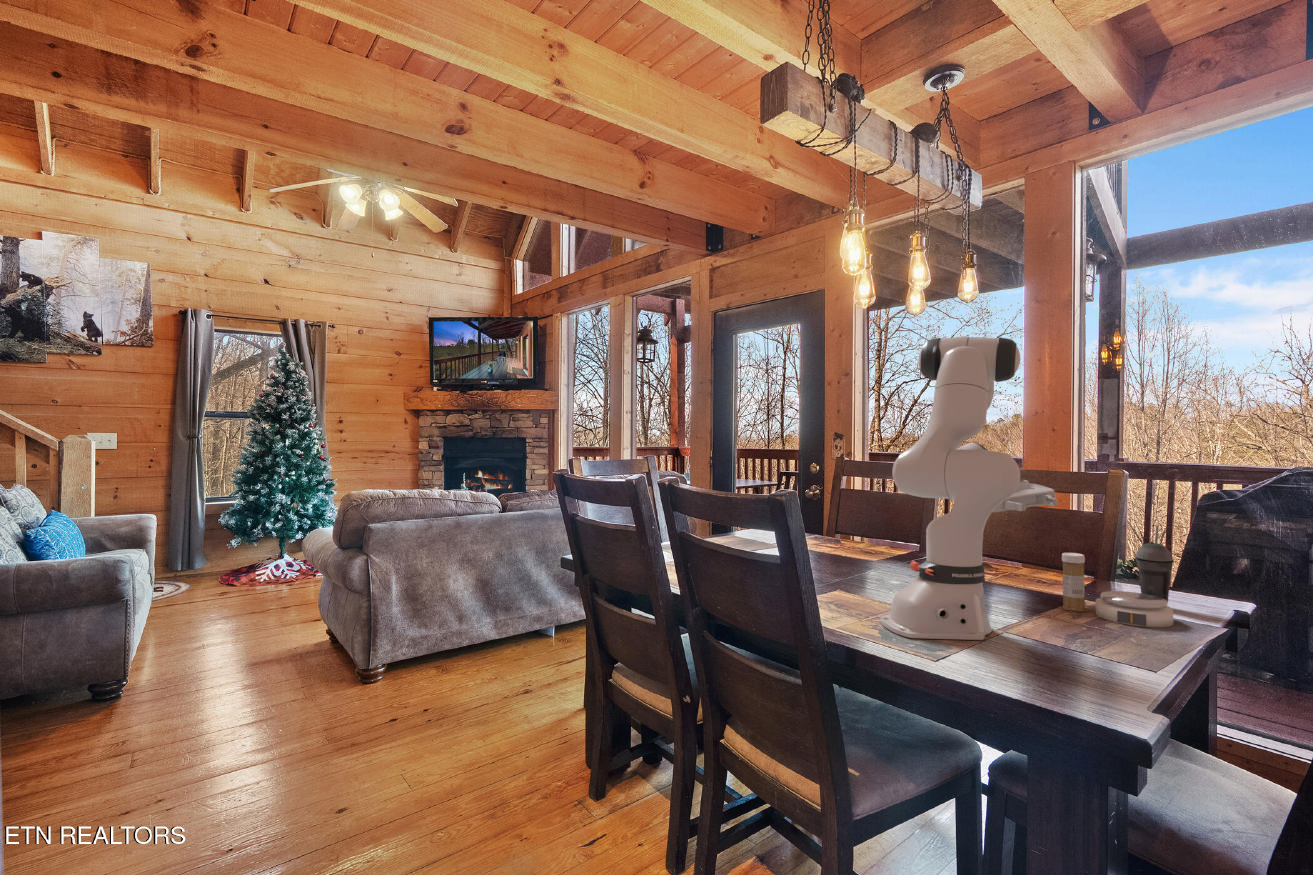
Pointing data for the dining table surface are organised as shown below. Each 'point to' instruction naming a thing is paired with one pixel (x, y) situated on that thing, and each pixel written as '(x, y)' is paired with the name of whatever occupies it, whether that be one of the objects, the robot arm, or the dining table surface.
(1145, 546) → the beverage cup
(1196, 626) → the dining table surface
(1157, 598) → the scale pan
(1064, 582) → the sprinkles bottle
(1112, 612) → the scale base
